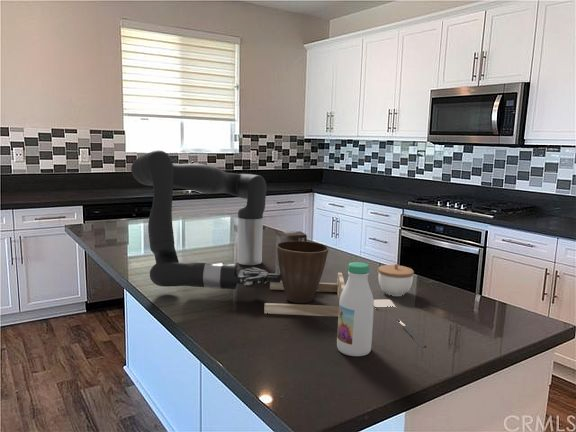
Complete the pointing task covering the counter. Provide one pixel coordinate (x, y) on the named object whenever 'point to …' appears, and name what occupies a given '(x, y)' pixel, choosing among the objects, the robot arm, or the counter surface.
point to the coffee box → (287, 237)
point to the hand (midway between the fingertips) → (280, 278)
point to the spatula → (389, 303)
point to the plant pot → (301, 268)
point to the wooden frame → (307, 309)
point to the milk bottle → (356, 312)
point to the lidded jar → (395, 279)
